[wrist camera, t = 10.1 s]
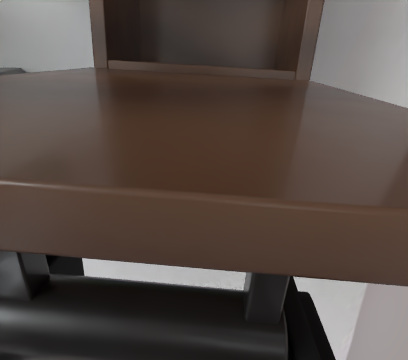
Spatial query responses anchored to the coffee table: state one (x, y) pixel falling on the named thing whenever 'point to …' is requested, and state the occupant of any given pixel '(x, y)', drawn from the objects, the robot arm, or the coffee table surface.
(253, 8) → the chest
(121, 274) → the coffee table surface
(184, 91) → the lid
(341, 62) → the coffee table surface
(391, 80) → the coffee table surface
